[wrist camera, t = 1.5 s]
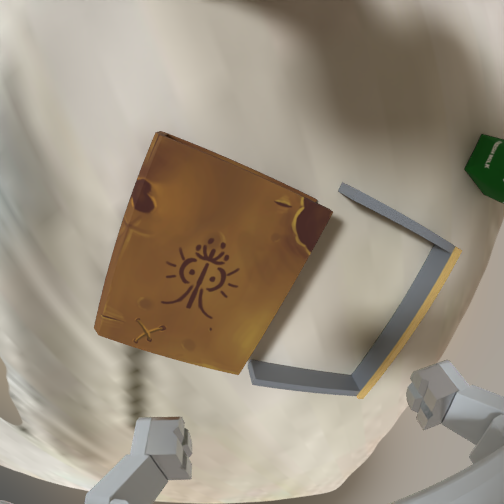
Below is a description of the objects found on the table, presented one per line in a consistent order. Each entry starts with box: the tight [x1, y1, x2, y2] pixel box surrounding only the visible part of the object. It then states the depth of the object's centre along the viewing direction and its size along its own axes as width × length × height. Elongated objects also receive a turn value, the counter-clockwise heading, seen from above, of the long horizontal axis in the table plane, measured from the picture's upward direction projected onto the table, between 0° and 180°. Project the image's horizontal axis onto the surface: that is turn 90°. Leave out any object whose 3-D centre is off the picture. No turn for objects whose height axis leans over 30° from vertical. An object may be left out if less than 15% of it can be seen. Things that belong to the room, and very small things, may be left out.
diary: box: [94, 131, 333, 375], centre depth 34 cm, size 23×19×6 cm
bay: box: [248, 182, 462, 399], centre depth 41 cm, size 20×28×5 cm
